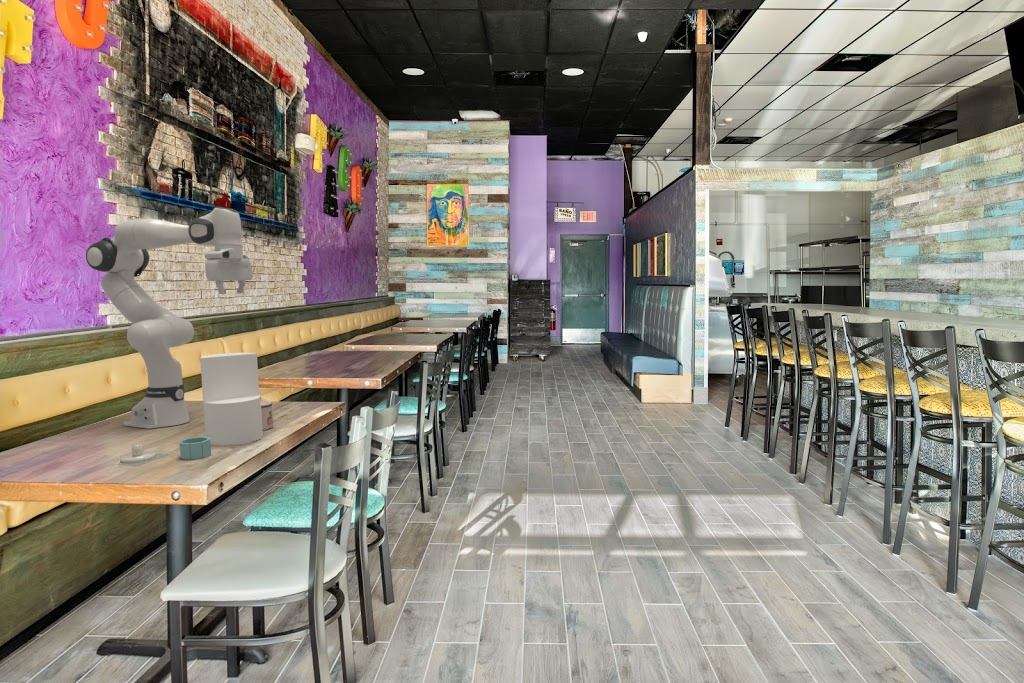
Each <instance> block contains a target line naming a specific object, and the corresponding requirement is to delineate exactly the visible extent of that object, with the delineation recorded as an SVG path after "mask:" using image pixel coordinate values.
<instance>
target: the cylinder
mask: <svg viewBox="0 0 1024 683" xmlns="http://www.w3.org/2000/svg"><path fill="white" fill-rule="evenodd" d="M199 360H200V373H201V374H200V376H201V391H202V404H203V405H202V406H203V408H202V409H203V419H204V420H203V421H204V432H205V433H204V434H205V436H204V437H209V438H210V445H211V446H223V447H224V446H235V445H236V446H237V445H241V444H242V445H245V444H244V443H247V444H249V443H248V442H251V443H253V442H252V441H255V440H257V441H259V440H258V439H260V438H261V437H262V436H263V437H264V435H263V434H264V433H263V431H264V430H262V412H261V399H262V395H260V383H259V382H260V381H259V366H258V353H256V352H226V353H225V352H224V353H215V354H208V355H202V356H200V357H199ZM263 437H262V438H263ZM262 438H261V439H262ZM261 439H260V440H261ZM255 442H256V441H255Z"/></svg>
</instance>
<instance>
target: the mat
mask: <svg viewBox="0 0 1024 683" xmlns="http://www.w3.org/2000/svg"><path fill="white" fill-rule="evenodd" d="M169 455H171V453H163V452H162V453H158V452H155V458H153V459H150V460H147V461H143V462H137V463H121V462H120V463H121V464H120V463H119V464H118V466H129V465H130V467H131V466H133V467H140V466H142V465H145V464H147V463H150V462H153V461H156V460H158V459H159V460H160V459H162V458H164V457H167V456H169Z"/></svg>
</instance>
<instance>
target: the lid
mask: <svg viewBox="0 0 1024 683" xmlns="http://www.w3.org/2000/svg"><path fill="white" fill-rule="evenodd" d="M155 453H156V452H155V451H152V450H151V451H149V450H147V451H145V450H144V451H143V444H142V443H134V444H131V452H129V453H126V454H124V455H121V456H120V457H119V458H120V462H121V463H137V462H143V461H147V460H150V459H153V458H155Z"/></svg>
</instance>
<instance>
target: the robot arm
mask: <svg viewBox="0 0 1024 683" xmlns="http://www.w3.org/2000/svg"><path fill="white" fill-rule="evenodd" d="M113 234H114V235H113V237H112V238H109V237H103V238H101V239H100V240H99V241H96V242H93V243H92V244H91V245H90V246H88V248H87V249H86V253H85V259H86V263H87V265H88V266H89V267H90V268H91V269H93V270H95V271H98V272H104V273H106V274H105V275H104V276H103V277H102V279H101V281H100V287H101V289H102V290H103V292H104V294H105V295H106V297H107V298H108V299H109V301H110V302H111V303H112V305H114V307H115V308H116V309H117V310H118V311H119V312H120V314H121V315H123V317H124V318H125V320H127V321H129V322H130V323H132V324H131V325H130V326H129V327H128V328H127V333H126V339H127V342H128V344H129V345H130V347H132V348H133V349H135V350H136V351H137V352H138V353H139V354H140V356H141V357H142V360H143V361H144V364H145V368H146V373H147V384H148V386H147V387H146V388H143V389H142V393H145V395H144V397H143V398H142V399H141V400H140V401H139V402H137V404H135V405H133V407H132V408H131V410H130V419H129V420H126V421H124V422H123V426H126V427H133V428H141V429H156V428H165V427H172V426H173V427H174V426H178V425H181V424H182V425H183V424H186V423H188V422H190V421H191V419H190V416H189V414H188V409H187V406H186V400H185V393H186V392H185V384H184V383H183V372H182V371H183V370H182V363H180V361H179V360H177V359H175V358H174V357H173V355H172V354H171V350H170V348H175V347H181V346H184V345H185V344H188V343H190V342H191V341H192V340H193V338H194V336H195V329H194V326H193V324H192V322H190V321H189V320H188V319H186V318H182V317H180V316H178V315H175V314H174V313H173V312H171V311H169V310H167V309H166V308H164V307H163V306H162V305H160V304H158V303H157V302H156V301H155V300H154V299H153V298H152V297H151V296H150V295H149V294H148V293H147V292H146V291H145V290H144V289H143V287H142V286H141V285H140V284H139V283H138V282H137V281H136V279H135V278H136V277H137V278H138V277H139V276H141V275H142V273H143V272H144V271H145V270H146V268H147V267H148V265H149V262H150V254H149V251H148V250H153V249H162V248H167V247H172V246H177V245H183V244H198V245H201V246H212V247H214V248H213V249H211V250H209V251H206V252H205V253H204V258H205V259H206V260H205V265H204V266H205V277H206V279H207V280H208V281H209V282H213V281H214V282H215V285H216V288H217V289H218V294H219V295H226V294H227V288H225V287H224V281H227V282H228V281H237V284H238V288H236V293H237V294H244V293H245V286H246V281H252V280H253V277H254V275H253V274H254V273H253V267H252V263H251V261H250V258H249V257H248V256H247V254H244V252H243V251H244V249H243V248H244V247H243V243H242V235H243V232H242V222H241V217H240V214H239V212H238V211H237V210H236V209H234V208H227V207H222V206H221V207H220V206H217V207H214V208H213V209H212V211H211V212H209V213H208V214H205V215H203V216H200V217H195V218H194V219H192V220H191V222H190V223H189V225H186V224H181V223H180V224H179V223H176V222H171V221H167V220H162V219H157V218H149V217H148V218H145V217H144V218H135V219H129V220H125V221H121V222H119V223H118V224H117V225H116V226H115V228H114V231H113Z"/></svg>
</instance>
